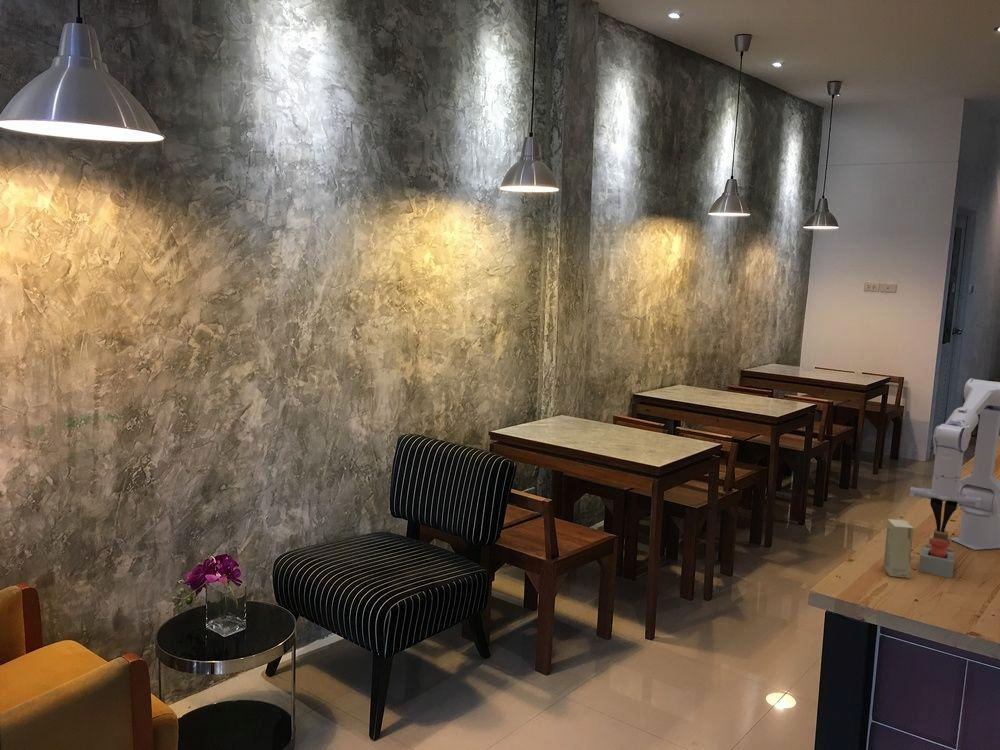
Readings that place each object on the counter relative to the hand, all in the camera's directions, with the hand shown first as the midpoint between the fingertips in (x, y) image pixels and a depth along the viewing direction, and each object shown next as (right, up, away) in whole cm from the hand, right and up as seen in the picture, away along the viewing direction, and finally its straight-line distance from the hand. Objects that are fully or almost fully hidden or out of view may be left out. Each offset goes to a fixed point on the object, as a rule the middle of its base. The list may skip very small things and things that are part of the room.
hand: (940, 530), depth 193 cm
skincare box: (-11, -10, -1) cm, 15 cm away
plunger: (0, -7, +1) cm, 7 cm away
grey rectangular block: (0, -10, +2) cm, 10 cm away
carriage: (+3, -9, +7) cm, 12 cm away
